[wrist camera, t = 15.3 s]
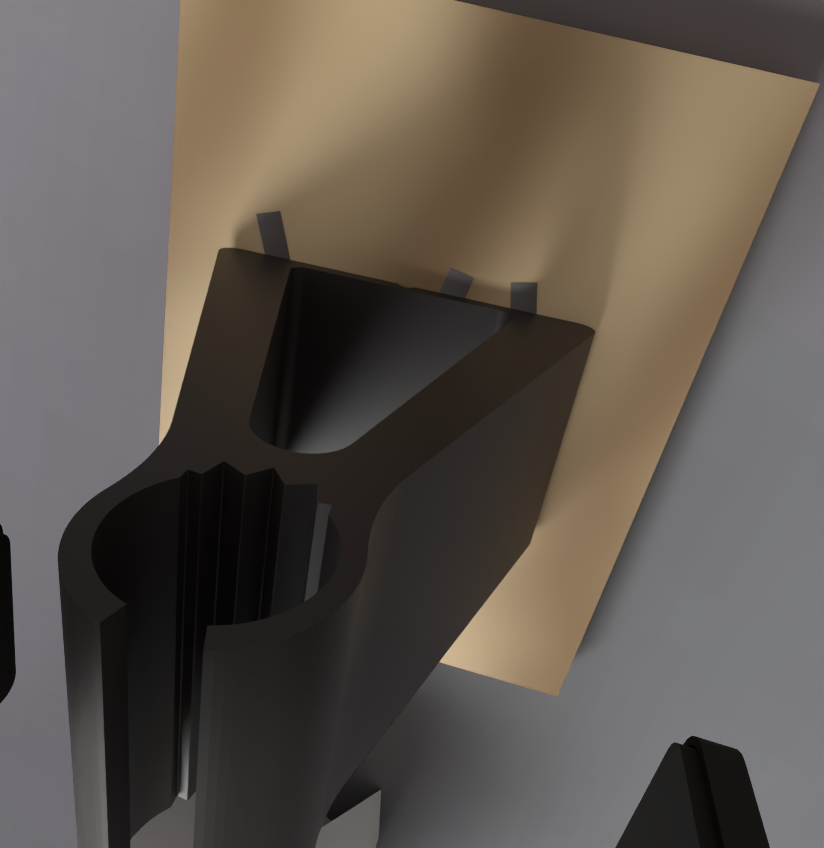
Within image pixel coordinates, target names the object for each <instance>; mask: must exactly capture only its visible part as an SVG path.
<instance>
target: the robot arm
mask: <svg viewBox="0 0 824 848" xmlns="http://www.w3.org/2000/svg"><path fill="white" fill-rule="evenodd" d="M15 674H16V667H15V644H14V621H13V598H12V575H11V552H10V541H9V538H8V536H7V535H5V534H3V530H2V526H1V525H0V703H1V702H2V701H3V700H4V698H5V697H6V696H7V694H8V693H9V691H10V689H11V687H12V685H13V683H14V680H15ZM616 848H770V847H769V843H768V840H767V836H766V833H765V829H764V826H763V822H762V819H761V816H760V812H759V809H758V805H757V802H756V798H755V795H754V791H753V788H752V784H751V781H750V777H749V774H748V771H747V767H746V764H745V761H744V758H743V756H742V754H741V753H740V752H739V751H738V750H737V749H734V748H731V747H728V746H724V745H721V744H718V743H715V742H712V741H708V740H705V739H702V738H699V737H695V736H691V737H689V738H688V739H687V740H686V742H685V743H684V744H683V745H681V744H678V743H673V744H671V746H670V747H669V749H668V750H667V752H666V754H665V756H664V758H663V760H662V762H661V763H660V765H659V767H658V769H657V771H656V773H655V775H654V777H653V778H652V780H651V782H650V784H649V786H648V788H647V790H646V792H645V793H644V795H643V797H642V799H641V801H640V803H639V805H638V807H637V808H636V810H635V812H634V814H633V816H632V818H631V820H630V822H629V823H628V825H627V827H626V829H625V831H624V833H623V835H622V836H621V838H620V840H619V842H618V844H617V846H616Z"/></svg>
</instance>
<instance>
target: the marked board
mask: <svg viewBox="0 0 824 848" xmlns="http://www.w3.org/2000/svg"><path fill="white" fill-rule="evenodd" d="M819 85H820V84H819V83H815V82H810V81H806V80H802V79H797V78H793V77H788V76H784V75H780V74H775V73H771V72H766V71H762V70H758V69H753V68H749V67H745V66H740V65H736V64H731V63H727V62H723V61H718V60H714V59H710V58H705V57H701V56H696V55H692V54H688V53H683V52H679V51H674V50H670V49H666V48H661V47H657V46H653V45H648V44H644V43H639V42H635V41H631V40H626V39H622V38H618V37H613V36H609V35H604V34H600V33H596V32H591V31H587V30H582V29H578V28H574V27H569V26H565V25H561V24H556V23H552V22H547V21H543V20H539V19H534V18H530V17H526V16H521V15H517V14H512V13H508V12H504V11H499V10H495V9H491V8H486V7H482V6H477V5H473V4H469V3H464V2H460V1H455V0H181V1H180V22H179V42H178V63H177V84H176V104H175V125H174V145H173V166H172V187H171V207H170V228H169V248H168V269H167V290H166V310H165V331H164V351H163V372H162V393H161V413H160V434H159V445H160V443H161V442H162V440H163V439H164V437H165V436H166V434H167V432H168V430H169V428H170V425H171V422H172V419H173V415H174V412H175V408H176V404H177V401H178V397H179V393H180V390H181V386H182V382H183V379H184V375H185V371H186V368H187V364H188V360H189V357H190V353H191V349H192V346H193V342H194V338H195V335H196V331H197V327H198V324H199V320H200V316H201V313H202V309H203V305H204V302H205V298H206V295H207V291H208V287H209V284H210V280H211V276H212V273H213V269H214V265H215V262H216V258H217V254H218V251H219V249H221V248H239V249H244V250H248V251H253V252H257V253H262V254H267V255H271V256H276V257H280V258H285V259H289V260H294V261H298V262H303V263H307V264H312V265H316V266H321V267H326V268H330V269H335V270H339V271H344V272H348V273H353V274H357V275H362V276H366V277H371V278H375V279H380V280H385V281H389V282H394V283H398V284H399V285H400V286H402V287H406V288H414V287H416V288H421V289H425V290H430V291H435V292H439V293H444V294H448V295H453V296H457V297H462V298H466V299H471V300H475V301H480V302H484V303H489V304H494V305H498V306H503V307H507V308H512V309H516V310H521V311H525V312H530V313H534V314H539V315H544V316H548V317H553V318H557V319H562V320H566V321H571V322H575V323H580V324H583V325H586V326H589V327H591V328H592V329H594V330H595V335H594V338H593V342H592V345H591V348H590V351H589V355H588V358H587V361H586V364H585V368H584V371H583V374H582V377H581V381H580V384H579V387H578V390H577V394H576V397H575V400H574V403H573V407H572V410H571V413H570V416H569V420H568V423H567V426H566V429H565V433H564V436H563V439H562V442H561V446H560V449H559V452H558V455H557V459H556V462H555V465H554V468H553V472H552V475H551V478H550V481H549V485H548V488H547V491H546V494H545V498H544V501H543V504H542V507H541V511H540V514H539V517H538V520H537V524H536V527H535V530H534V533H533V537H532V540H531V543H530V545H529V546H528V548H527V549H526V550H525V551H524V553H523V554H522V555H521V557H520V558H519V559H518V560H517V562H516V563H515V564H514V566H513V567H512V568H511V570H510V571H509V572H508V573H507V575H506V576H505V577H504V579H503V580H502V581H501V583H500V584H499V585H498V586H497V588H496V589H495V590H494V592H493V593H492V594H491V595H490V597H489V598H488V599H487V601H486V602H485V603H484V605H483V606H482V607H481V608H480V610H479V611H478V612H477V614H476V615H475V616H474V618H473V619H472V620H471V621H470V623H469V624H468V625H467V627H466V628H465V629H464V630H463V632H462V633H461V634H460V636H459V637H458V638H457V640H456V641H455V642H454V643H453V645H452V646H451V647H450V649H449V650H448V651H447V652H446V654H445V655H444V656H443V658H442V659H441V660H440V663H444V664H447V665H451V666H454V667H458V668H461V669H465V670H468V671H472V672H475V673H478V674H482V675H485V676H489V677H492V678H496V679H499V680H503V681H506V682H509V683H513V684H516V685H520V686H523V687H527V688H530V689H534V690H537V691H540V692H544V693H547V694H551V695H554V696H558V694H559V692H560V689H561V687H562V685H563V682H564V680H565V678H566V675H567V673H568V671H569V668H570V666H571V664H572V661H573V659H574V657H575V654H576V652H577V650H578V647H579V645H580V643H581V640H582V638H583V636H584V633H585V631H586V629H587V626H588V624H589V622H590V619H591V617H592V615H593V612H594V610H595V608H596V606H597V603H598V601H599V599H600V596H601V594H602V592H603V589H604V587H605V585H606V582H607V580H608V578H609V575H610V573H611V571H612V568H613V566H614V564H615V561H616V559H617V557H618V554H619V552H620V550H621V547H622V545H623V543H624V540H625V538H626V536H627V533H628V531H629V529H630V526H631V524H632V522H633V519H634V517H635V515H636V512H637V510H638V508H639V505H640V503H641V501H642V498H643V496H644V494H645V491H646V489H647V487H648V484H649V482H650V480H651V477H652V475H653V473H654V470H655V468H656V466H657V463H658V461H659V459H660V456H661V454H662V452H663V449H664V447H665V445H666V442H667V440H668V438H669V435H670V433H671V431H672V428H673V426H674V424H675V421H676V419H677V417H678V414H679V412H680V410H681V407H682V405H683V403H684V400H685V398H686V396H687V393H688V391H689V389H690V386H691V384H692V382H693V379H694V377H695V375H696V372H697V370H698V368H699V365H700V363H701V361H702V358H703V356H704V354H705V351H706V349H707V347H708V344H709V342H710V340H711V337H712V335H713V333H714V330H715V328H716V326H717V323H718V321H719V319H720V316H721V314H722V312H723V309H724V307H725V305H726V302H727V300H728V298H729V295H730V293H731V291H732V288H733V286H734V284H735V281H736V279H737V277H738V274H739V272H740V270H741V267H742V265H743V263H744V260H745V258H746V256H747V253H748V251H749V249H750V246H751V244H752V242H753V239H754V237H755V235H756V232H757V230H758V228H759V225H760V223H761V221H762V218H763V216H764V214H765V211H766V209H767V207H768V204H769V202H770V200H771V197H772V195H773V193H774V190H775V188H776V186H777V183H778V181H779V179H780V176H781V174H782V172H783V169H784V167H785V165H786V162H787V160H788V158H789V155H790V153H791V151H792V148H793V146H794V144H795V141H796V139H797V137H798V134H799V132H800V130H801V127H802V125H803V123H804V120H805V118H806V116H807V113H808V111H809V109H810V106H811V104H812V102H813V99H814V97H815V95H816V92H817V90H818V88H819Z"/></svg>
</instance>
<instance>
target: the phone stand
mask: <svg viewBox="0 0 824 848" xmlns="http://www.w3.org/2000/svg"><path fill="white" fill-rule="evenodd" d="M594 335H595V330H594V329H592V328H591V327H589V326H586V325H583V324H580V323H575V322H571V321H566V320H562V319H557V318H553V317H548V316H544V315H539V314H534V313H530V312H525V311H521V310H516V309H512V308H507V307H503V306H498V305H494V304H489V303H484V302H480V301H475V300H471V299H466V298H462V297H457V296H453V295H448V294H444V293H439V292H435V291H430V290H425V289H421V288H416V287H414V288H406V287H402V286H400V285H399V284H398V283H394V282H389V281H385V280H380V279H375V278H371V277H366V276H362V275H357V274H353V273H348V272H344V271H339V270H335V269H330V268H326V267H321V266H316V265H312V264H307V263H303V262H298V261H294V260H289V259H285V258H280V257H276V256H271V255H267V254H262V253H257V252H253V251H248V250H244V249H239V248H221V249H219V251H218V254H217V258H216V262H215V265H214V269H213V273H212V276H211V280H210V284H209V287H208V291H207V295H206V298H205V302H204V305H203V309H202V313H201V316H200V320H199V324H198V327H197V331H196V335H195V338H194V342H193V346H192V349H191V353H190V357H189V360H188V364H187V368H186V371H185V375H184V379H183V382H182V386H181V390H180V393H179V397H178V401H177V404H176V408H175V412H174V415H173V419H172V422H171V425H170V428H169V430H168V432H167V434H166V436H165V437H164V439H163V440H162V442H161V443H160V445H159V446H158V447H157V448H156V450H155V451H154V452H153V453H152V454H151V455H150V456H149V457H148V458H147V459H146V460H145V461H144V462H143V463H142V464H141V465H139V466H138V467H137V468H136V469H134V470H133V471H132V472H131V473H129V474H128V475H126V476H125V477H124V478H122V479H121V480H119V481H118V482H116V483H115V484H113V485H111V486H110V487H108V488H107V489H105V490H103V491H102V492H100V493H99V494H97V495H96V496H95V497H93V498H92V499H91V500H90V501H88V502H87V503H86V504H85V505H84V506H83V507H82V508H81V509H80V510H79V511H78V512H77V513H76V514H75V516H74V517H73V518H72V519H71V521H70V522H69V524H68V526H67V527H66V529H65V531H64V533H63V535H62V538H61V541H60V545H59V551H58V569H59V583H60V597H61V611H62V626H63V640H64V654H65V668H66V683H67V697H68V711H69V726H70V740H71V754H72V768H73V783H74V797H75V811H76V825H77V840H78V848H130V840H131V839H132V837H133V836H134V835H135V834H136V833H137V832H138V831H139V830H140V829H141V828H142V827H143V826H144V825H145V824H146V823H147V822H149V821H150V820H151V819H152V818H154V817H155V816H157V815H158V814H160V813H161V812H163V811H165V810H167V809H168V808H170V807H171V806H172V804H173V803H174V801H175V799H176V797H177V796H179V797H181V798H183V799H185V800H189V799H190V798H191V796H192V795H193V794H194V793H195V792H196V800H195V820H194V840H193V848H315V847H316V842H317V839H318V835H319V832H320V830H321V827H322V824H323V822H324V820H325V817H326V815H327V813H328V811H329V809H330V807H331V805H332V803H333V802H334V800H335V798H336V797H337V795H338V793H339V792H340V790H341V789H342V788H343V786H344V785H345V783H346V782H347V781H348V779H349V778H350V777H351V776H352V774H353V773H354V772H355V770H356V769H357V768H358V767H359V765H360V764H361V763H362V761H363V760H364V759H365V757H366V756H367V755H368V754H369V752H370V751H371V750H372V748H373V747H374V746H375V744H376V743H377V742H378V741H379V739H380V738H381V737H382V735H383V734H384V733H385V732H386V730H387V729H388V728H389V726H390V725H391V724H392V722H393V721H394V720H395V719H396V717H397V716H398V715H399V713H400V712H401V711H402V710H403V708H404V707H405V706H406V704H407V703H408V702H409V700H410V699H411V698H412V697H413V695H414V694H415V693H416V691H417V690H418V689H419V687H420V686H421V685H422V684H423V682H424V681H425V680H426V678H427V677H428V676H429V675H430V673H431V672H432V671H433V669H434V668H435V667H436V665H437V664H438V663H439V662H440V660H441V659H442V658H443V656H444V655H445V654H446V652H447V651H448V650H449V649H450V647H451V646H452V645H453V643H454V642H455V641H456V640H457V638H458V637H459V636H460V634H461V633H462V632H463V630H464V629H465V628H466V627H467V625H468V624H469V623H470V621H471V620H472V619H473V618H474V616H475V615H476V614H477V612H478V611H479V610H480V608H481V607H482V606H483V605H484V603H485V602H486V601H487V599H488V598H489V597H490V595H491V594H492V593H493V592H494V590H495V589H496V588H497V586H498V585H499V584H500V583H501V581H502V580H503V579H504V577H505V576H506V575H507V573H508V572H509V571H510V570H511V568H512V567H513V566H514V564H515V563H516V562H517V560H518V559H519V558H520V557H521V555H522V554H523V553H524V551H525V550H526V549H527V548H528V546H529V545H530V543H531V540H532V537H533V533H534V530H535V527H536V524H537V520H538V517H539V514H540V511H541V507H542V504H543V501H544V498H545V494H546V491H547V488H548V485H549V481H550V478H551V475H552V472H553V468H554V465H555V462H556V459H557V455H558V452H559V449H560V446H561V442H562V439H563V436H564V433H565V429H566V426H567V423H568V420H569V416H570V413H571V410H572V407H573V403H574V400H575V397H576V394H577V390H578V387H579V384H580V381H581V377H582V374H583V371H584V368H585V364H586V361H587V358H588V355H589V351H590V348H591V345H592V342H593V338H594Z"/></svg>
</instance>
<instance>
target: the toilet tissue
mask: <svg viewBox="0 0 824 848" xmlns="http://www.w3.org/2000/svg"><path fill="white" fill-rule="evenodd" d="M195 800H196V792H195V793H194V794H193V795H192V796H191V798H190V799H189V800H185V799H183V798H181V797H179V796H177V797H176V799H175V801H174V803H173V804H172V806H171V807H170V808H168V809H167V810H165V811H163V812H161V813H160V814H158V815H157V816H155V817H154V818H152V819H151V820H150V821H149V822H147V823H146V824H145V825H144V826H143V827H142V828H141V829H140V830H139V831H138V832H137V833H136V834H135V835H134V836H133V837H132V839H131V840H130V848H193V840H194V820H195ZM380 804H381V790H379V791H378V792H376V793H375V794H373V795H372V796H370V797H369V798H367V799H365V800H364V801H362V802H361V803H359V804H358V805H356V806H355V807H353V808H352V809H350V810H348V811H347V812H345V813H344V814H342V815H341V816H339V817H338V818H336V819H334V820H333V821H331V820H330V819H328V818H327V817H325V820H324V822H323V824H322V827H321V830H320V832H319V835H318V839H317V842H316V847H315V848H376V845H377V841H378V838H379V825H380Z"/></svg>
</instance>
